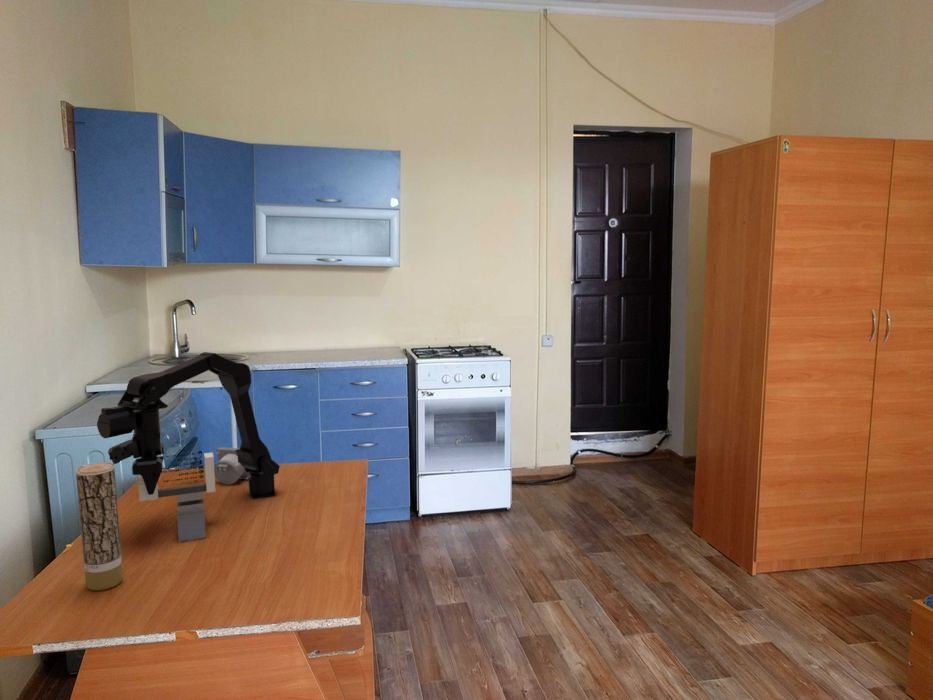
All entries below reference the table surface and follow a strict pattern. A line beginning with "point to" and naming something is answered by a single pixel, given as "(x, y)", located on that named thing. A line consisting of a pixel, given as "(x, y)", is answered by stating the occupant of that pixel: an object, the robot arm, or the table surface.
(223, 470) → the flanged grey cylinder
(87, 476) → the wooden log
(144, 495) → the grey rod with blocks
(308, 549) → the table surface
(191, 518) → the block
